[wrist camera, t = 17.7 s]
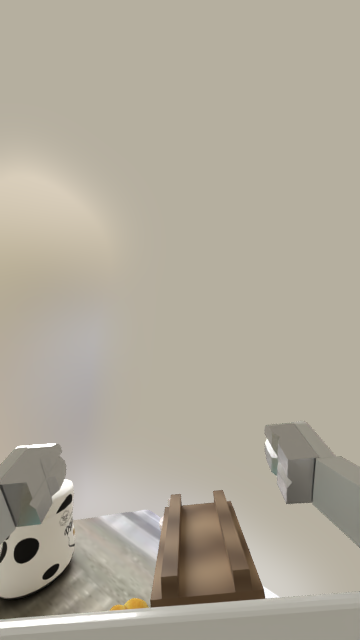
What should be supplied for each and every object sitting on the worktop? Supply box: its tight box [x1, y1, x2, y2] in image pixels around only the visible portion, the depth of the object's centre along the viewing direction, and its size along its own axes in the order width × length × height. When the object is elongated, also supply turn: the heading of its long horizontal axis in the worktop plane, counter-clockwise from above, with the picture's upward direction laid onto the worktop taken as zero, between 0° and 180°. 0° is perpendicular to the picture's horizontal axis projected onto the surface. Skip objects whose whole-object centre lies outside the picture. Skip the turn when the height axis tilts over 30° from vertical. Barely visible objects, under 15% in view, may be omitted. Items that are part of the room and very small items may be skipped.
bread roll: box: [110, 598, 149, 611], centre depth 40 cm, size 8×9×4 cm
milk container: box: [0, 479, 75, 600], centre depth 56 cm, size 17×17×18 cm
